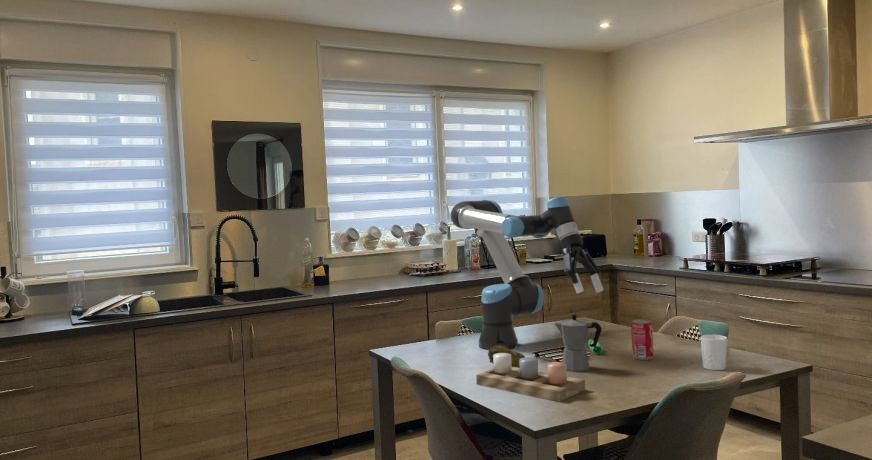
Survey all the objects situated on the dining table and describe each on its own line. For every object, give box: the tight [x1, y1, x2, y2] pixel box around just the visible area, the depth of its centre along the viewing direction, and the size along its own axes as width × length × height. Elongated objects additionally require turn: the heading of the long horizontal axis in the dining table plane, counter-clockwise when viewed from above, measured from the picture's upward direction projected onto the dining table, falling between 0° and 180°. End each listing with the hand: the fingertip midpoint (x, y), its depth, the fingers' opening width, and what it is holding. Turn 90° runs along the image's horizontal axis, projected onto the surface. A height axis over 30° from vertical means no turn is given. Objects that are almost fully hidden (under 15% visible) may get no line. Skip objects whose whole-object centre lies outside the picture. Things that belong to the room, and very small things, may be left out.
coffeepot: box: [554, 313, 603, 372], centre depth 220 cm, size 15×9×18 cm, turn 68°
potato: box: [487, 346, 526, 368], centre depth 223 cm, size 8×13×8 cm, turn 90°
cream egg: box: [492, 353, 512, 373], centre depth 208 cm, size 6×6×5 cm
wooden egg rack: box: [475, 367, 586, 403], centre depth 201 cm, size 30×14×3 cm, turn 47°
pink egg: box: [546, 361, 568, 384], centre depth 194 cm, size 6×6×5 cm
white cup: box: [700, 334, 728, 371], centre depth 215 cm, size 8×8×10 cm
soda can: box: [630, 318, 655, 361], centre depth 230 cm, size 7×7×13 cm
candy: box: [586, 338, 604, 356], centre depth 243 cm, size 12×3×4 cm
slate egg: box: [519, 356, 539, 378], centre depth 201 cm, size 6×6×5 cm
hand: (590, 292), depth 233 cm, fingers open, 13 cm apart
